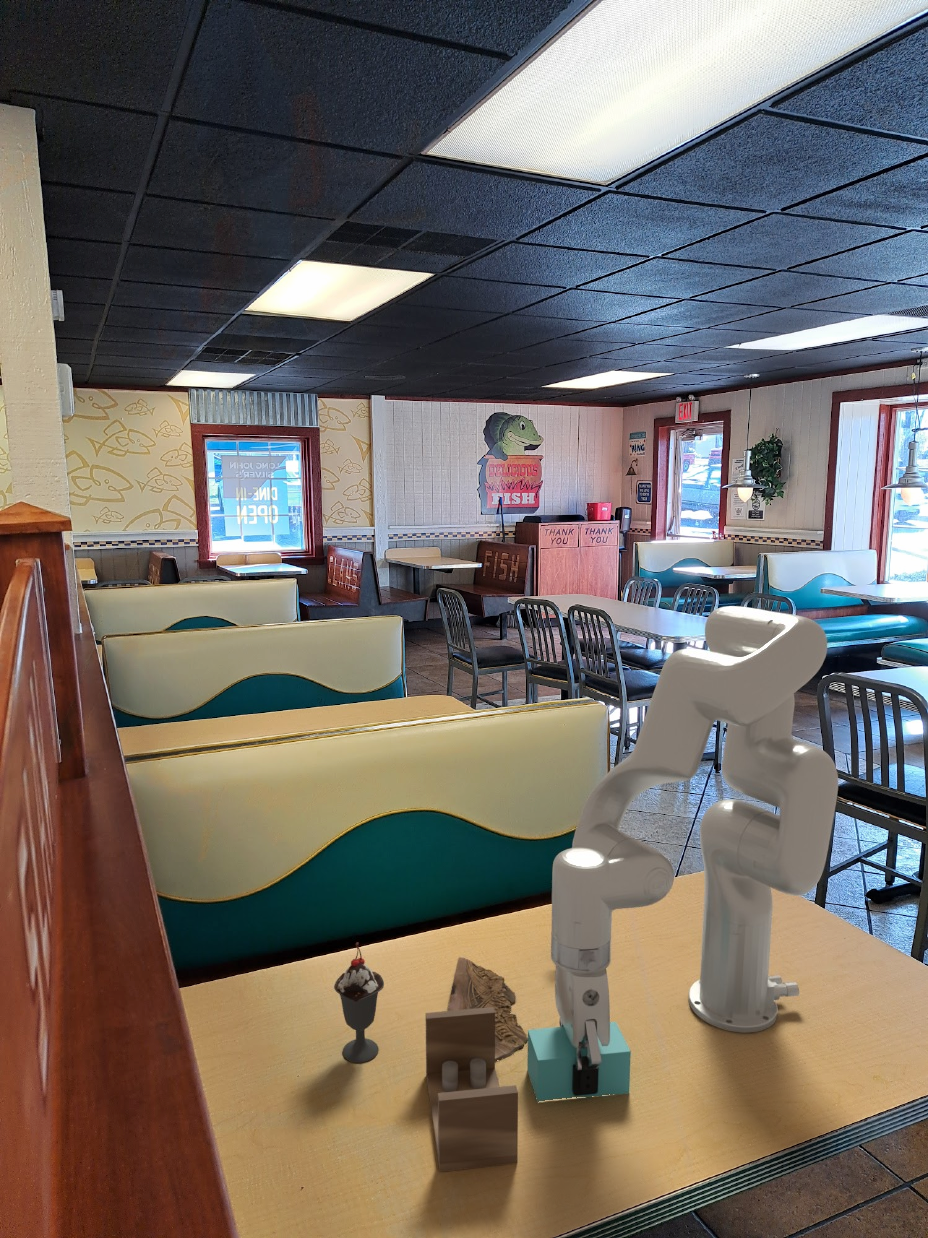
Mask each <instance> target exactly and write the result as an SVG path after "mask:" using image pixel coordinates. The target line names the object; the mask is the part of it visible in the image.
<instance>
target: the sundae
mask: <svg viewBox="0 0 928 1238" xmlns="http://www.w3.org/2000/svg"><path fill="white" fill-rule="evenodd" d="M359 944H360V943H359V941H358V942H357V941H356V943H355V946H356V949H357V953H356V956H355V958H354V959H352V960H351V961H350V966H348V968H347V969H346V970H345V972H343V973H342V974H341V975H340V976H339V977H337V979H336V981H335V983H334V986H333V988H334V989H333V990H334V991H335V992H336V993H337V994H338V995H339V997H340V1000H341V1007H342V1012H343V1018H344V1020H345V1021H344V1022H345V1023H346V1025H347V1026H348V1027H350V1028H351V1029H352V1030H355V1039H352V1040H350V1041H349V1042H347V1043H346V1044H344V1047H342V1051H341V1052H342V1056H343V1058H344V1059H345V1060H347V1061H348V1062H350V1061H351V1062H350V1063H355V1064H362V1063H367V1062H370V1061H372V1060H373V1059H374V1058H376V1056H378V1053H379V1046H378V1044H377V1043H376V1042H375V1041H374V1040H372V1039H370V1038H366V1037H365V1035H366V1033H365V1032H366V1031H365V1030H366V1029H368V1028H369V1027H370V1026H371V1025H372V1024H373V1023H374V1021H375V1016H376V1012H377V1011H376V1009H377V1003H378V995H379V992H380V991H382V990H383V989H384V988H385V987H384V986H385V982H384V979H383V977H382V975H381V974H379V972H376V971H372V969H371V968H370V967H369V966H368V965H366V964H365V963H366V962H365V961H366V960H365V959H364V958H363V957H362V952H361V950H360V947H359ZM358 955H359V957H358Z"/></svg>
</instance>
